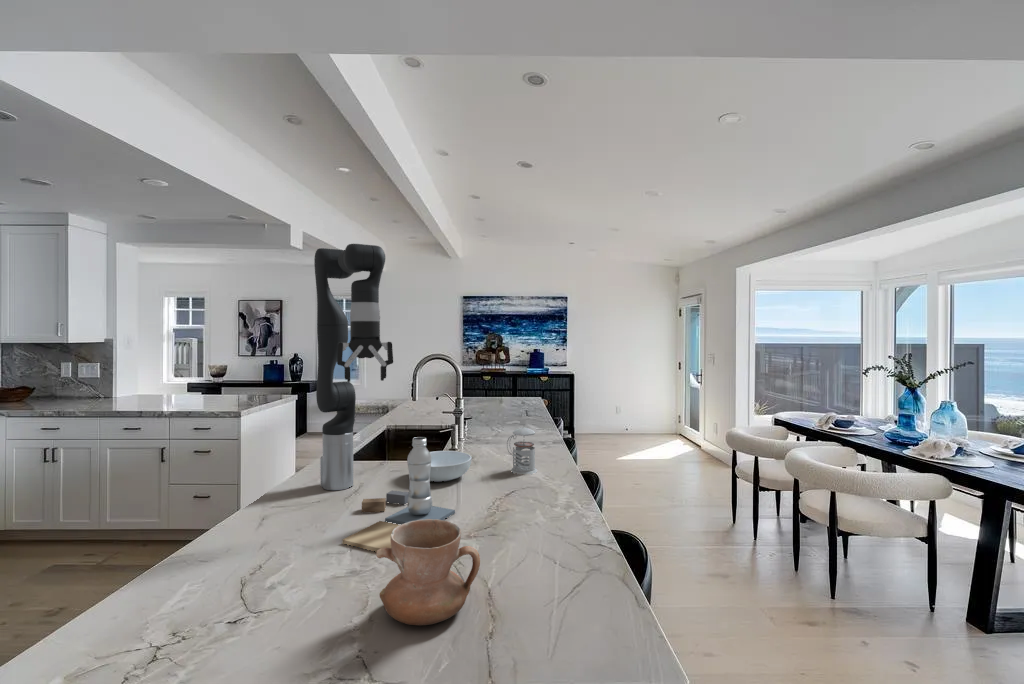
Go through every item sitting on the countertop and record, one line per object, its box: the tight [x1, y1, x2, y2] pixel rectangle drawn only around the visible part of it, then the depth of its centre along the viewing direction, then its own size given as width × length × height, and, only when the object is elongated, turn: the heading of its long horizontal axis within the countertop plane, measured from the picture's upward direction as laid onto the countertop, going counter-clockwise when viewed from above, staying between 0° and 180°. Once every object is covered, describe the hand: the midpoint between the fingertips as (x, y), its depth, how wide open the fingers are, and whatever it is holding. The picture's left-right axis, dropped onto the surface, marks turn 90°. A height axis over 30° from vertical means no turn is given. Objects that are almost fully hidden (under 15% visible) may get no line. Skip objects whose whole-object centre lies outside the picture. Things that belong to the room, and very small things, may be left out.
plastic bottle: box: [406, 436, 433, 515], centre depth 133 cm, size 6×7×20 cm
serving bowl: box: [429, 450, 472, 483], centre depth 170 cm, size 21×21×7 cm
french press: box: [506, 400, 538, 475], centre depth 179 cm, size 10×12×25 cm
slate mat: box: [384, 505, 456, 524], centre depth 133 cm, size 13×13×1 cm
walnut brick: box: [361, 497, 387, 513], centre depth 139 cm, size 6×3×3 cm, turn 97°
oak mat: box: [341, 520, 399, 553], centre depth 120 cm, size 13×13×1 cm
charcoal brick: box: [385, 490, 409, 505], centre depth 145 cm, size 6×3×3 cm, turn 72°
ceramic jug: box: [375, 519, 481, 626], centre depth 89 cm, size 18×14×14 cm
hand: (365, 381), depth 134 cm, fingers open, 8 cm apart
